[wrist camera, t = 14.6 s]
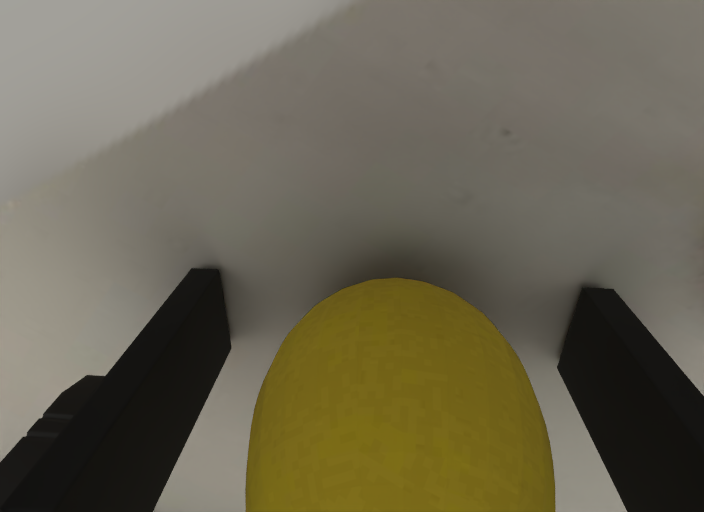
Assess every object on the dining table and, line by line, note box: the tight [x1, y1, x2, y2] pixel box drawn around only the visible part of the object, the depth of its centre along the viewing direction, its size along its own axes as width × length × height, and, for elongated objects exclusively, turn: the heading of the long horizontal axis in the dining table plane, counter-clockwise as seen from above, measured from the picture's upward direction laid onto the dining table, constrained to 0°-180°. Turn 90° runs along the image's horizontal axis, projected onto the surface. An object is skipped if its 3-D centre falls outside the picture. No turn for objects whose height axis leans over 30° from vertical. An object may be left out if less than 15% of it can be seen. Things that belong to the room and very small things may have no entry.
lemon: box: [246, 278, 555, 512], centre depth 9 cm, size 6×6×8 cm
